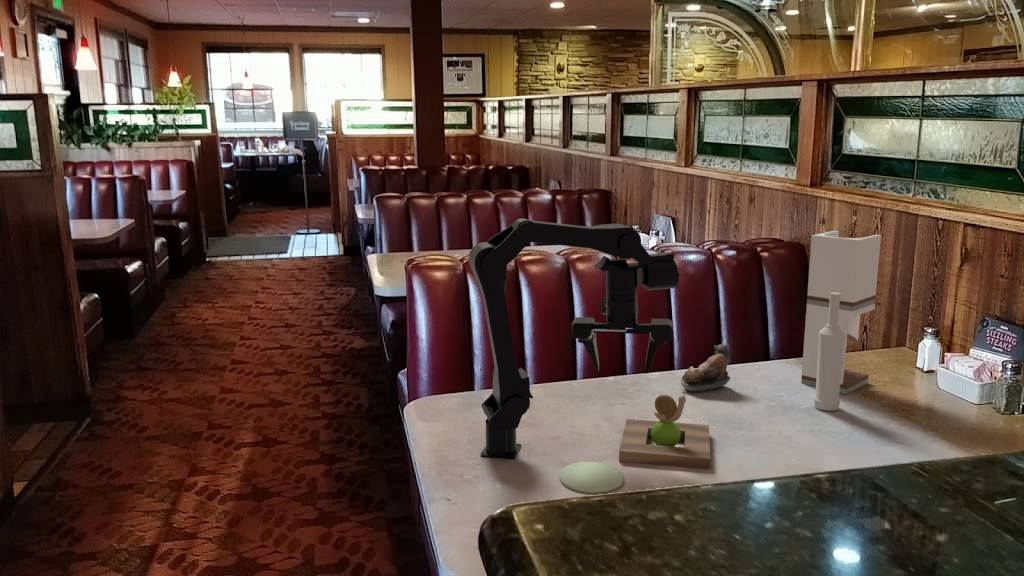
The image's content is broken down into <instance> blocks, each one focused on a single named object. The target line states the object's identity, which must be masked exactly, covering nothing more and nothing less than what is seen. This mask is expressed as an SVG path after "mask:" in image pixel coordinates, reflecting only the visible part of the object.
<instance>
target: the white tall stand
mask: <svg viewBox="0 0 1024 576" xmlns="http://www.w3.org/2000/svg"><path fill="white" fill-rule="evenodd" d="M839 232H840V230H831V231H827V232H822V233H817V234H812V235H811V241H810V253H809V256H810V257H809V266H808V267H809V269H808V283H807V294H806V295H807V297H806V298H807V299H806V308H805V309H806V310H805V311H806V312H805V324H804V325H805V326H804V338H803V350H802V351H803V353H802V354H803V355H802V365H801V366H802V367H801V378H800V381H801V382H800V383H801V384H802V385H803V384H804V385H807V386H810V385H812V386H811V387H814V386H815V387H814V388H816V380H817V361H818V342H819V331H820V330H822V329H823V328H824V327H826V324H828V316H829V303H830V302H829V300H830V293H831V292H836V293H840V294H841V295H840V304H839V317H838V325H839V326H840V327H839V328H840V329H841V330H842V331H843V332H844V333H845V343H844V352H843V362H842V371H841V381H840V390H839V394H843V395H847V394H849V393H851V392H854V391H855V390H858V388H861V387H863V386H865V385H867V384H868V383H869V374H866V373H863V372H858V371H854V370H850V369H846V368H845V365H846V353H847V346H851V345H854V344H856V343H858V342H859V338H860V337H859V336H860V324H861V323H860V322H861V315H863V314H865V313H869V312H871V311H874V310H875V309H876V306H875V305H876V297H877V295H876V294H877V287H878V286H877V285H878V283H877V282H878V274H879V262H880V254H881V252H880V250H881V240H882V234H874V235H870V236H866V237H839V235H840V234H839Z"/></svg>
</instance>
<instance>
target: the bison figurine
mask: <svg viewBox="0 0 1024 576" xmlns="http://www.w3.org/2000/svg"><path fill="white" fill-rule="evenodd" d="M713 347H714V350H715V351H714V352H713V353H714V355H711V356H709V357H708V359H706V361H704V362H702V363H701V364H700V365H698V367H697V368H695V367H694V366H693V365H692V366H690V367H688V369H687V370H686V371H685V372H684V374H683V375H682V377H680V384H681V387H683V388H684V389H685V390H686V391H690V392H704V391H709V390H713V389H717V388H721V387H723V386H725V385H727V384H728V382H729V381H730V380H731V377H730V376H729V371H728V370H727V367H728V360H729V358H730V349H729V346H728V343H726V344H723V343H720V344H718V345H716V344H714V346H713Z"/></svg>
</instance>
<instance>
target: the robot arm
mask: <svg viewBox="0 0 1024 576" xmlns="http://www.w3.org/2000/svg"><path fill="white" fill-rule="evenodd" d="M530 243H535V244H545V245H557V246H565V247H575V248H584V249H591V250H594V251H598V252H600V253H602V254H603V253H604V254H607V255H610V256H614V257H617V258H618V259H610V258H609V257H608V256H605V255H603V257H601V259H600V260H599V261H598V262H597V263H595V265H594V267H595V268H596V269H597V270H599V271H601V272H605V273H606V274H605V278H606V279H605V284H606V285H605V286H606V287H605V290H606V293H605V295H606V296H605V297H601V303H600V313H601V315H606V322H595V318H594V317H588V316H587V317H584V316H583V317H581V316H579V317H578V316H576V317H575V318H574V319H573V321H572V322H571V325H570V338H572V339H577V342H578V343H579V344H583V346H584V347H585V349H586V351H587V353H588V354H589V357H590V359H591V362H592V365H593V366H594V369H595V372H596V373H599V372H600V371H599V370H600V361H599V352H598V346H597V334H629V335H630V334H631V335H632V334H635V335H636V334H639V335H649V338H648V346H647V353H646V359H645V368H644V371H645V372H644V373H645V374H649V370H650V367H651V364H652V362H653V359H654V356H655V354H656V352H657V350H658V349H659V346H663V345H664V346H665V344H666V341H667V342H668V341H669V342H670V341H673V321H672V320H671V319H670V318H651V320H650V322H651V323H638V322H639V307H638V285H639V286H640V287H642V289H643V290H644V291H654V290H667V289H669V290H670V289H676V288H677V286H678V284H679V281H680V272H679V269H678V266H677V263H676V261H675V254H674V253H672V252H670V251H667V252H661V253H652V254H650V253H649V252H648V251H647V250H646V249H645V247H644V245H643V244H642V238H641V235H640V233H639V232H638V230H637V229H635V228H634V227H630V226H627V225H625V224H621V223H607V224H606V223H605V224H598V225H589V226H586V225H585V226H584V225H577V224H576V225H574V224H566V223H557V222H547V221H540V220H539V221H538V220H529V219H527V218H520V217H519V218H518V219H516V220H515V221H513V222H512V223H511V224H510V225H509V226H508V227H506V228H504V229H503V230H501V231H500V232H499V233H496V234H495V235H493V236H492V237H491V238H489V239H488V240H487V241H485V242H484V241H483V242H479V243H476V244H475V245H474V246H473V247H472V248H471V249H470V251H469V254H468V263H469V266H470V268H471V272H472V273H473V277H474V279H475V282H476V284H477V286H478V288H479V291H480V293H481V297H482V303H483V307H484V308H483V309H484V313H485V319H486V325H487V330H488V337H489V342H490V347H491V353H492V354H491V355H492V358H493V364H494V367H493V368H494V369H493V375H492V393H491V394H489V396H488V397H487V398H486V399H485V400H484V401H483V402H482V403H481V408H482V411H483V414H484V415H485V416H486V419H485V446H484V448H483V449H482V451H481V453H480V458H489V459H490V458H491V459H500V460H501V459H502V460H515V459H516V457H517V455H518V453H519V452H520V450H521V448H522V444H521V443H517V428H519V425H520V422H521V420H522V417H523V415H526V413H527V411H528V410H529V409H530V407H531V399H533V398H534V396H533V395H532V393H531V389H530V387H531V386H530V385H531V383H530V377H529V375H528V374H527V373H526V371H525V370H524V369H523V367H520V368H518V366H517V361H516V359H517V358H516V355H515V354H516V353H515V347H514V342H513V336H512V330H511V329H512V328H511V324H510V318H509V312H508V307H507V301H506V295H505V294H506V286H507V281H508V280H507V279H508V278H507V277H508V276H507V275H508V274H507V273H508V267H507V266H508V265H509V263H511V262H512V261H514V260H515V258H517V256H519V254H521V252H522V251H523V250H524V249H525V247H526V246H528V245H529V244H530ZM626 259H628V260H629V259H631V260H633V261H635V262H628V261H627V260H626Z"/></svg>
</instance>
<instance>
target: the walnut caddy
mask: <svg viewBox="0 0 1024 576" xmlns="http://www.w3.org/2000/svg"><path fill="white" fill-rule="evenodd" d="M658 421H659V420H658ZM658 421H657V420H645V419H644V420H643V419H632V418H631V419H630V418H626V420H625V424H624V429H623V433H622V438H621V441H620V446H619V449H618V461H619V462H623V463H637V464H647V465H655V466H656V465H657V466H670V467H681V468H693V469H701V470H702V469H703V470H704V469H705V470H710V469H711V446H710V445H711V443H710V425H709V424H698V423H684V422H683V423H682V422H675V423H676V424H677V425H678V427H679V429H680V433H681V437H680V440H679V441H681V442H682V441H684V446H674V447H672V446H660V445H656V444H648V439H652V436H651V431H652V428H653V426H654V425H655V423H657V422H658Z"/></svg>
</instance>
